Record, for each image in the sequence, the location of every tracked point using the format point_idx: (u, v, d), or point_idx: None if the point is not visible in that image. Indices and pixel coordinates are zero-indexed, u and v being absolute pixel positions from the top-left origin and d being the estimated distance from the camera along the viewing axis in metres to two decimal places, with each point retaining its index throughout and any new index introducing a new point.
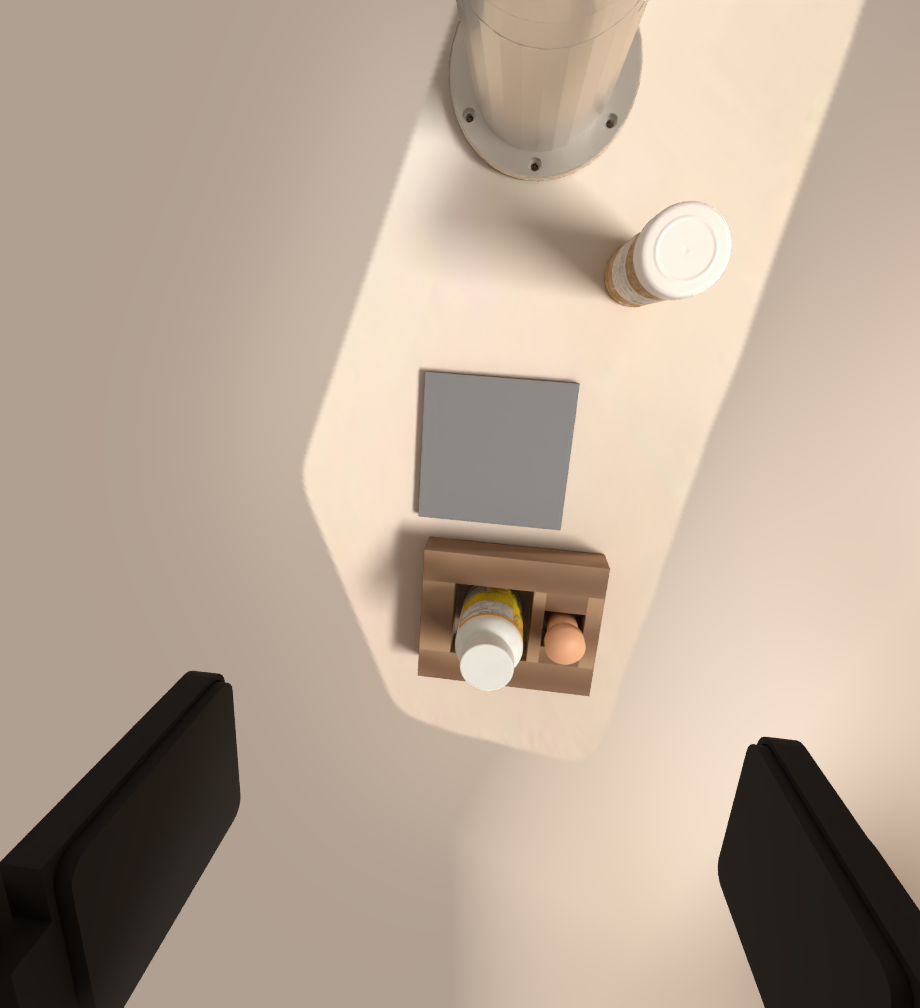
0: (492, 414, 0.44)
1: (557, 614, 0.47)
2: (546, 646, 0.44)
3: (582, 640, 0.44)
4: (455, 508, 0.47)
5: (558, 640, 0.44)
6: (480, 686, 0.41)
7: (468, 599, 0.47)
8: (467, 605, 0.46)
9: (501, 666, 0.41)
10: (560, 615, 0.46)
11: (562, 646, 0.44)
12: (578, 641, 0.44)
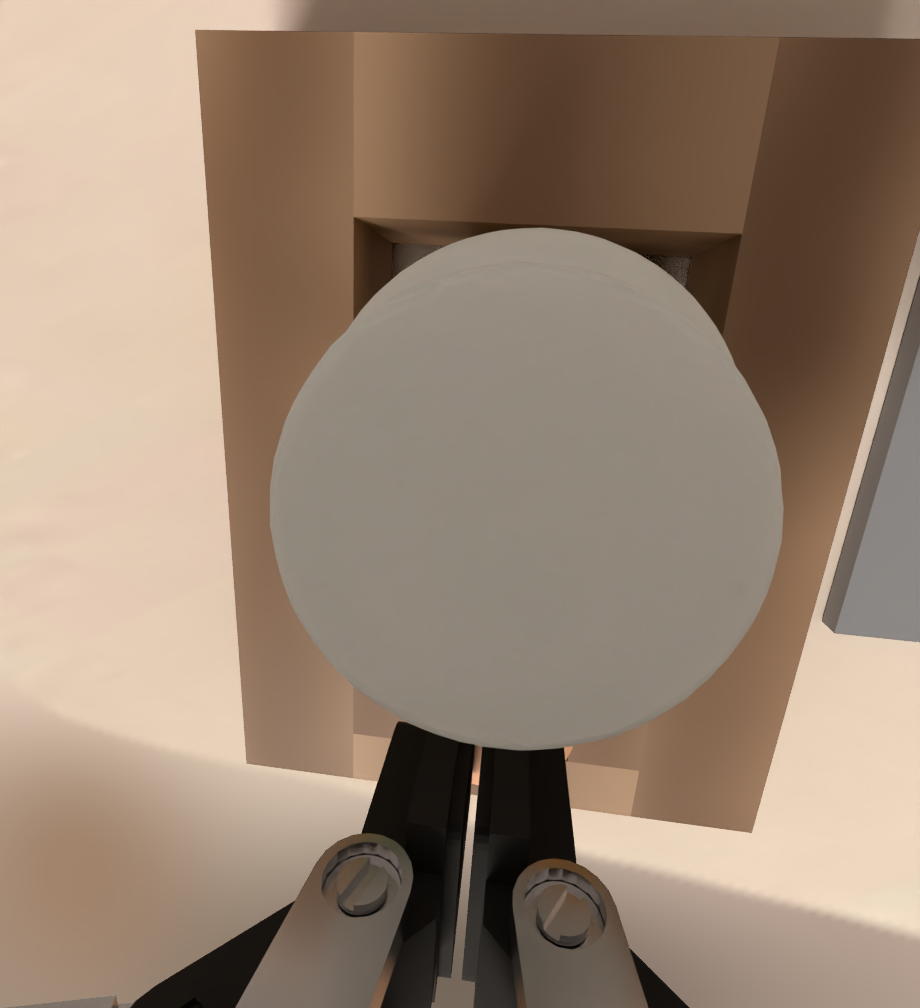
0: None
1: None
2: None
3: None
4: None
5: None
6: (307, 481, 0.04)
7: None
8: None
9: (536, 664, 0.05)
10: None
11: None
12: None
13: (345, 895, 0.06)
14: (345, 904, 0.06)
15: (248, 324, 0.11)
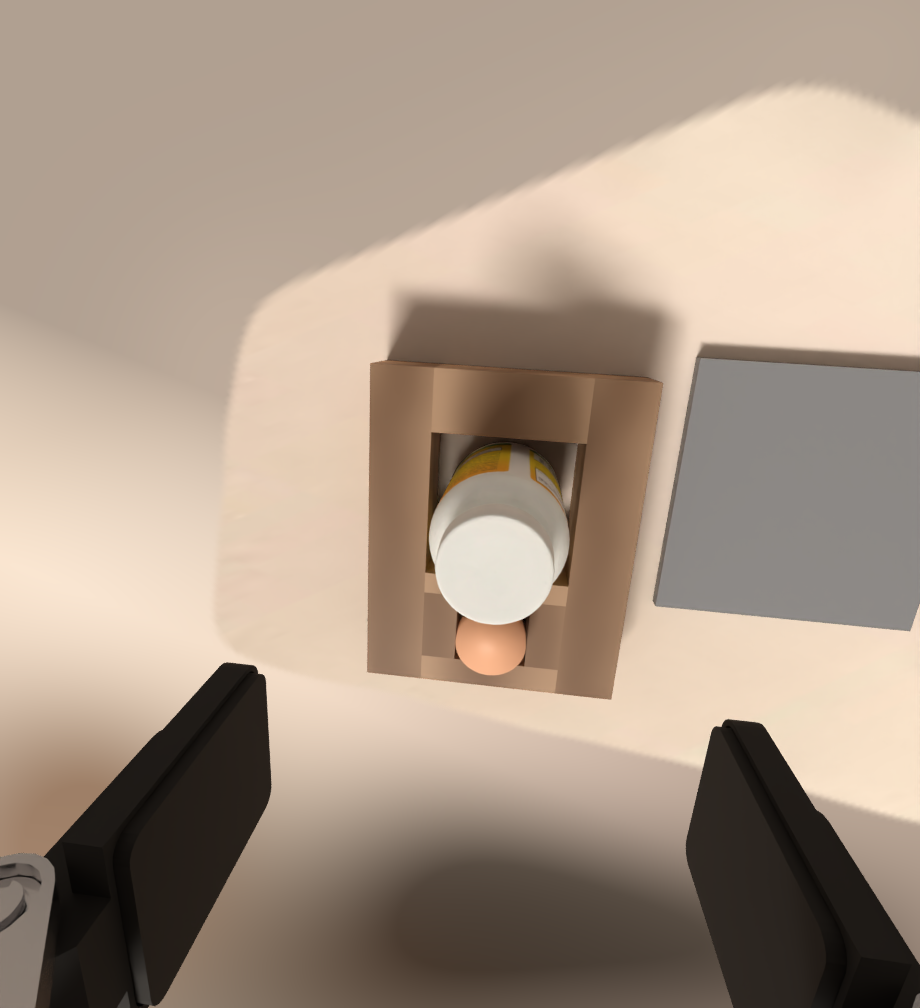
0: (885, 497, 0.25)
1: None
2: None
3: (504, 670, 0.26)
4: (711, 430, 0.25)
5: (502, 634, 0.25)
6: (445, 558, 0.18)
7: (544, 466, 0.24)
8: (545, 472, 0.23)
9: (500, 602, 0.19)
10: None
11: (491, 640, 0.25)
12: (502, 664, 0.26)
13: None
14: None
15: (383, 471, 0.25)
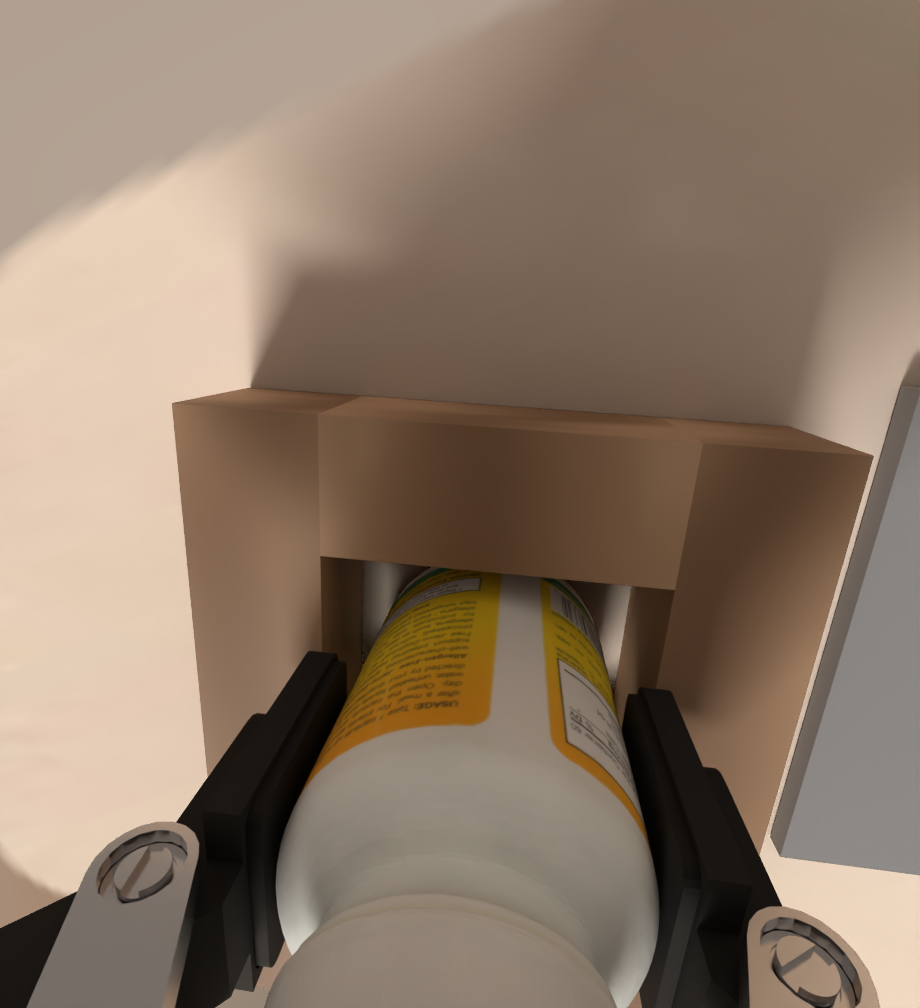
0: None
1: None
2: None
3: None
4: None
5: None
6: None
7: (574, 626, 0.11)
8: (580, 657, 0.10)
9: None
10: None
11: None
12: None
13: (127, 888, 0.06)
14: (129, 896, 0.06)
15: (224, 633, 0.11)
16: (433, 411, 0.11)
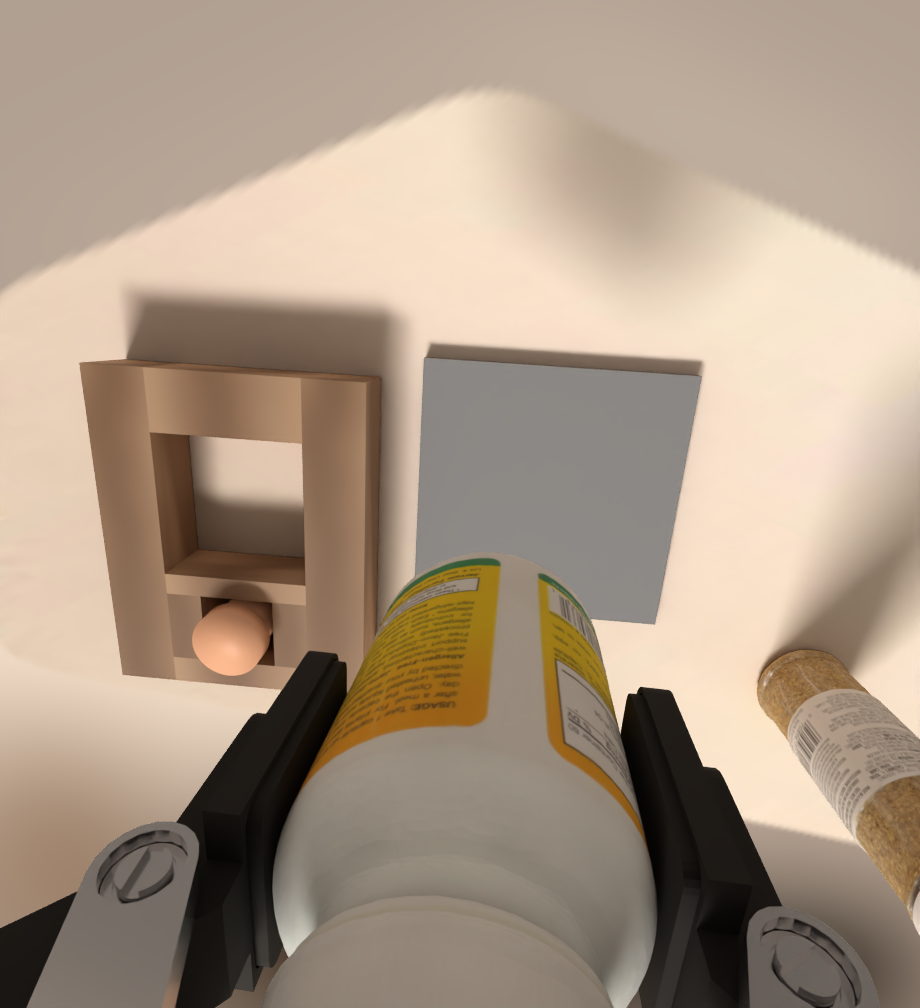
0: (615, 494, 0.26)
1: None
2: (221, 616, 0.25)
3: (244, 670, 0.26)
4: (443, 429, 0.25)
5: (237, 634, 0.25)
6: None
7: (572, 627, 0.11)
8: (578, 658, 0.10)
9: None
10: None
11: (226, 641, 0.25)
12: (241, 665, 0.25)
13: (127, 888, 0.06)
14: (128, 896, 0.06)
15: (108, 472, 0.24)
16: (203, 368, 0.24)
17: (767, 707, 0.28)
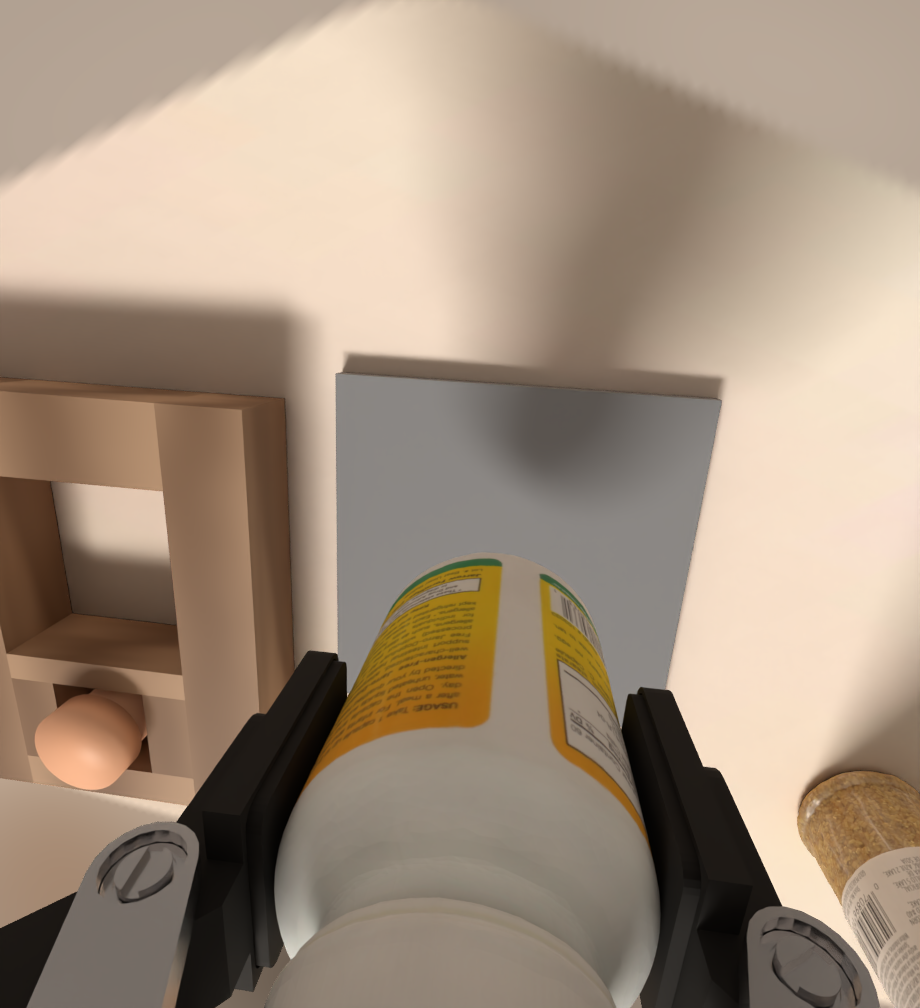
0: (600, 560, 0.19)
1: None
2: (68, 716, 0.19)
3: (103, 784, 0.19)
4: (366, 470, 0.19)
5: (90, 740, 0.19)
6: None
7: (574, 627, 0.11)
8: (580, 659, 0.10)
9: None
10: None
11: (78, 747, 0.19)
12: (99, 777, 0.19)
13: (127, 888, 0.06)
14: (129, 895, 0.06)
15: None
16: (42, 387, 0.18)
17: (811, 847, 0.20)
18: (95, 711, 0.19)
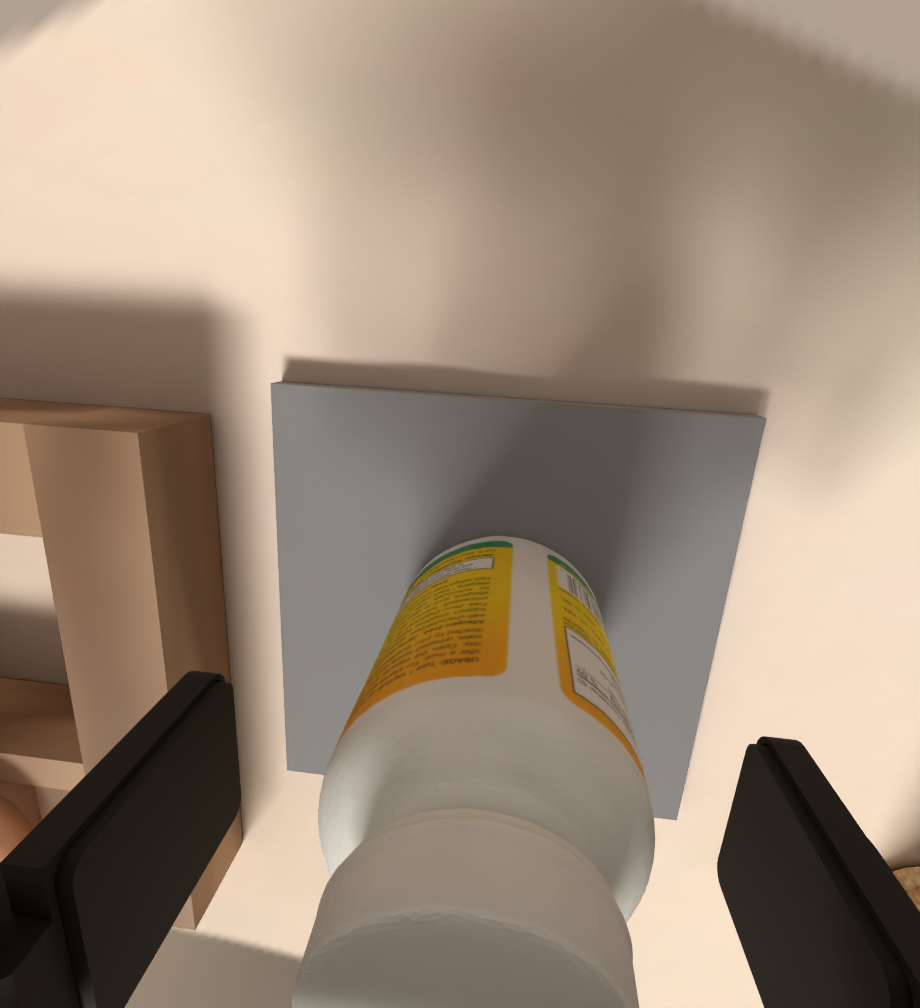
0: (608, 617, 0.15)
1: None
2: None
3: None
4: (313, 504, 0.15)
5: None
6: (318, 1004, 0.06)
7: (579, 601, 0.12)
8: (585, 627, 0.11)
9: None
10: None
11: None
12: None
13: None
14: None
15: None
16: None
17: None
18: None
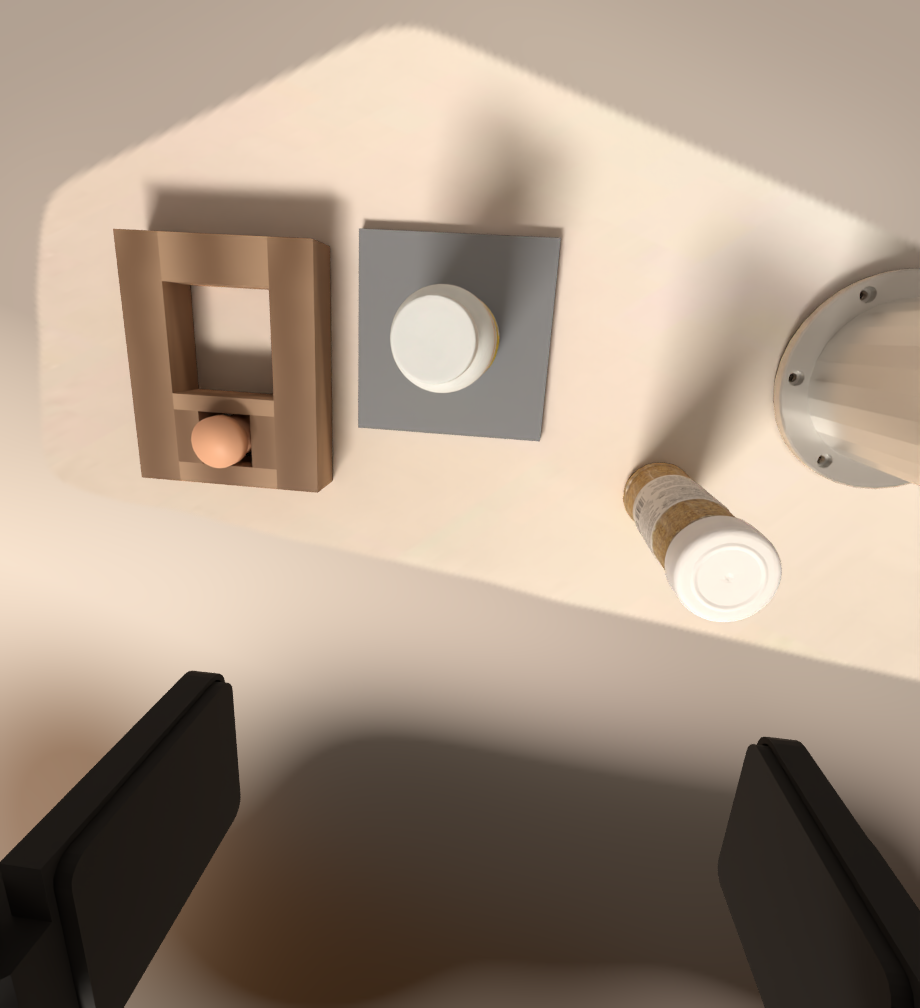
0: (503, 334, 0.34)
1: None
2: (212, 419, 0.34)
3: (229, 463, 0.35)
4: (375, 284, 0.34)
5: (223, 434, 0.34)
6: (398, 330, 0.26)
7: None
8: None
9: (437, 364, 0.26)
10: None
11: (216, 439, 0.34)
12: (226, 459, 0.35)
13: None
14: None
15: (133, 313, 0.34)
16: None
17: (628, 508, 0.36)
18: (226, 419, 0.34)
